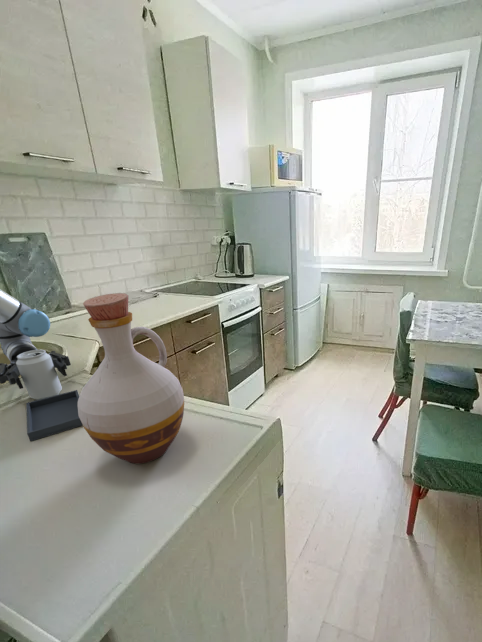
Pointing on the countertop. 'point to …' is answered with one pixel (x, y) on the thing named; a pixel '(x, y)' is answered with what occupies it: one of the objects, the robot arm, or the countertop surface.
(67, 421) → the tray
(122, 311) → the jug
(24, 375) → the can
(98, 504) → the countertop surface
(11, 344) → the robot arm
